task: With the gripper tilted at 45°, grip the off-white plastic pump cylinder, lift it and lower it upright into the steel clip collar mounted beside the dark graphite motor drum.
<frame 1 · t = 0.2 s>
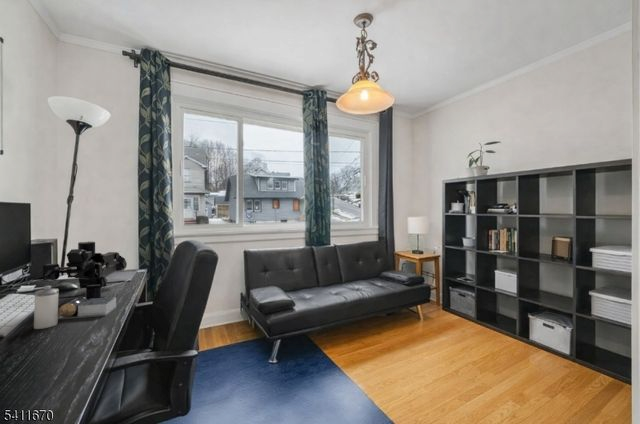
hand: (60, 277, 101), 16 cm above the table, tool horizontal, fingers open, 9 cm apart
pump: (45, 325, 97), on the table
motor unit: (87, 313, 109), on the table
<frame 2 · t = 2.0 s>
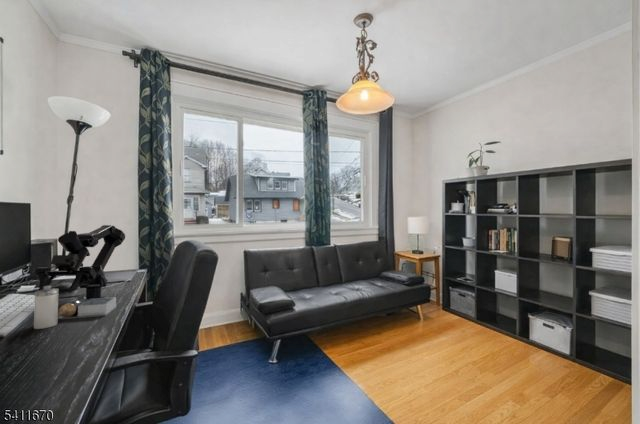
hand: (54, 293, 101), 11 cm above the table, tool tilted 45°, fingers open, 9 cm apart
nothing on the table moved.
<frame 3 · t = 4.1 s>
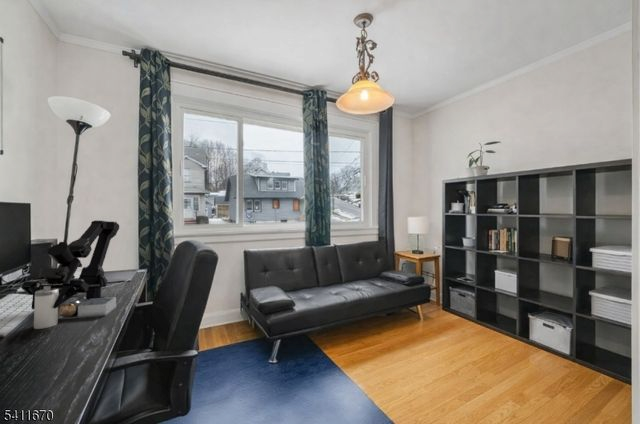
hand: (43, 308, 96), 7 cm above the table, tool tilted 45°, fingers closed on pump, 6 cm apart
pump: (45, 325, 97), on the table, touching gripper
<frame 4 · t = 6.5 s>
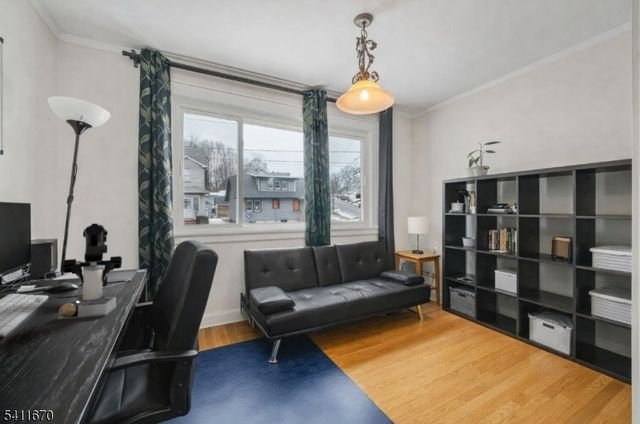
hand: (92, 281, 107), 13 cm above the table, tool tilted 45°, fingers closed on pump, 6 cm apart
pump: (92, 297, 108), point 7 cm above the table, touching gripper
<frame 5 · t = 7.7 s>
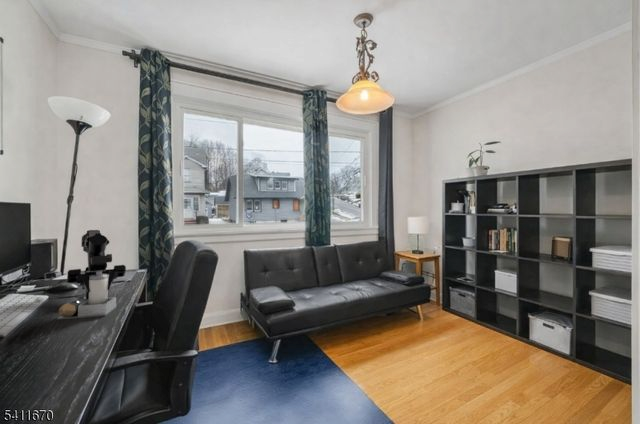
hand: (98, 290, 109), 9 cm above the table, tool tilted 45°, fingers closed on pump, 6 cm apart
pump: (98, 306, 110), point 3 cm above the table, touching gripper
when the fingers open (9 cm above the table, at t = 8.8 s): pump drops 1 cm, resting on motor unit.
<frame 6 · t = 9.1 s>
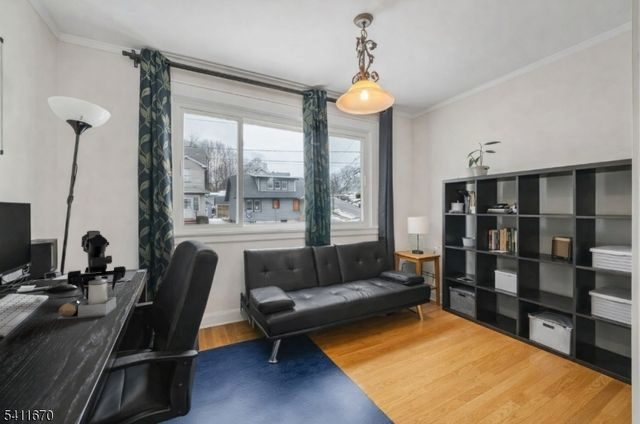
hand: (98, 292, 109), 9 cm above the table, tool tilted 45°, fingers open, 9 cm apart
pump: (97, 311, 110), point 1 cm above the table, touching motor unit
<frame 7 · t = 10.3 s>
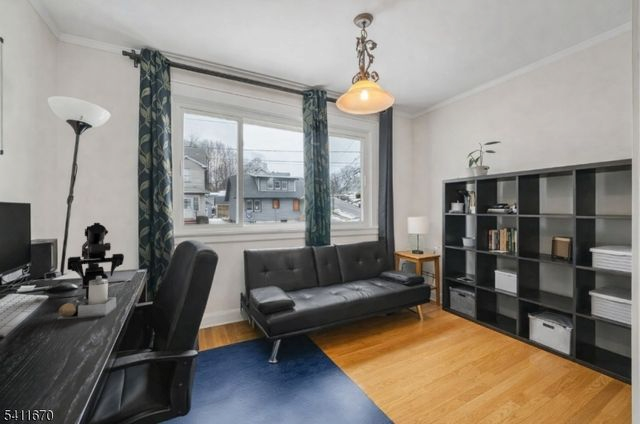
hand: (97, 277, 113), 14 cm above the table, tool tilted 45°, fingers open, 9 cm apart
nothing on the table moved.
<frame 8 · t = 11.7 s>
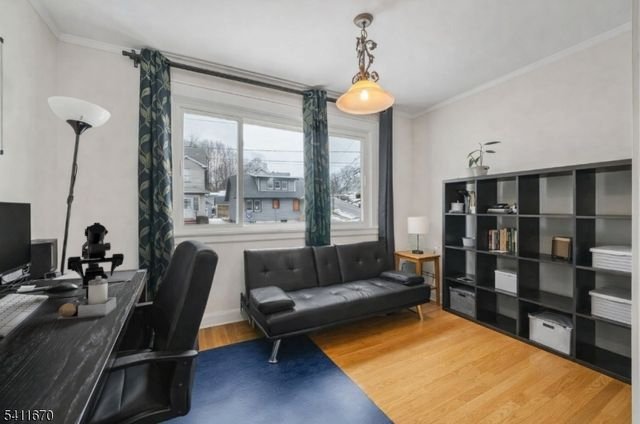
hand: (97, 277, 113), 14 cm above the table, tool tilted 45°, fingers open, 9 cm apart
nothing on the table moved.
at the end: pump 0.1 cm from the target spot on the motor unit, point 0.6 cm above the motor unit's base; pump tilted 0°; the gripper is holding nothing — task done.
